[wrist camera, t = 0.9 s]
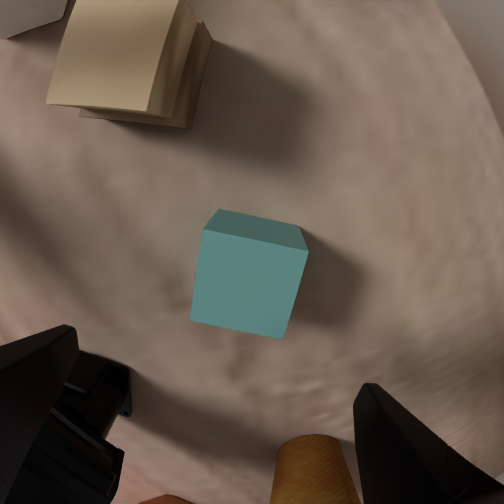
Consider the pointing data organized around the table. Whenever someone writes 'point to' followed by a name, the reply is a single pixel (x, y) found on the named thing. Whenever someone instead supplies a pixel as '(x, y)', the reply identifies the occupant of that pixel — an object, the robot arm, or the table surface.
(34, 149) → the table surface
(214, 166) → the table surface
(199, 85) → the tower base
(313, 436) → the disposable coffee cup
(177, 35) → the tower top
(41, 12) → the medicine bottle
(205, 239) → the teal block
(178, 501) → the whiskey bottle
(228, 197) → the table surface
